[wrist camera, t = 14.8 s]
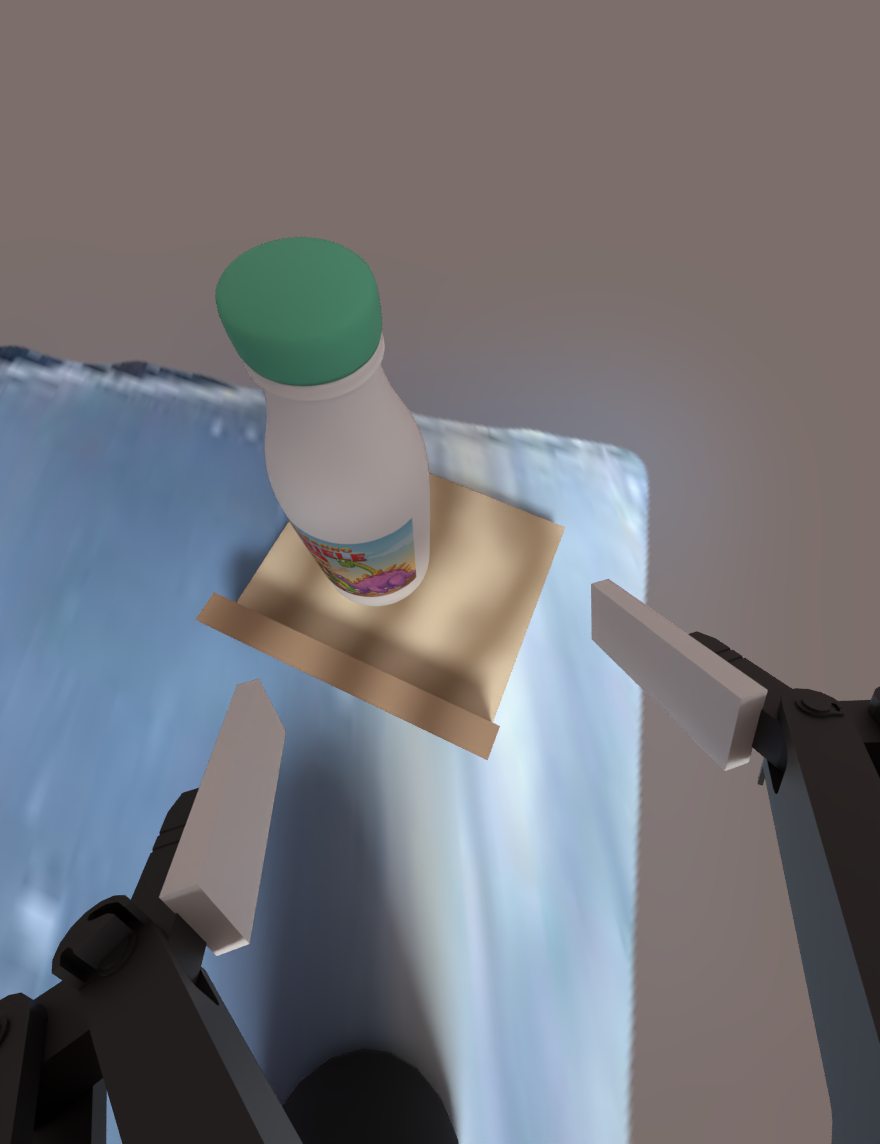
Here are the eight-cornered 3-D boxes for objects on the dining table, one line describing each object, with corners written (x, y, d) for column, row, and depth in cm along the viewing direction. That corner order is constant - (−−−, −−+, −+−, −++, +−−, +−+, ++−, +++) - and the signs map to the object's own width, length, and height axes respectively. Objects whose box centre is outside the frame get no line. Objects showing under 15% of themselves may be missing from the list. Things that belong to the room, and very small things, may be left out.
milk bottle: (355, 502, 31) (248, 175, 13) (444, 534, 30) (471, 237, 12) (308, 586, 29) (84, 330, 10) (405, 625, 28) (358, 424, 9)
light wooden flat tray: (232, 634, 29) (195, 619, 25) (347, 452, 35) (334, 412, 30) (476, 751, 27) (487, 760, 23) (557, 537, 33) (578, 509, 28)
